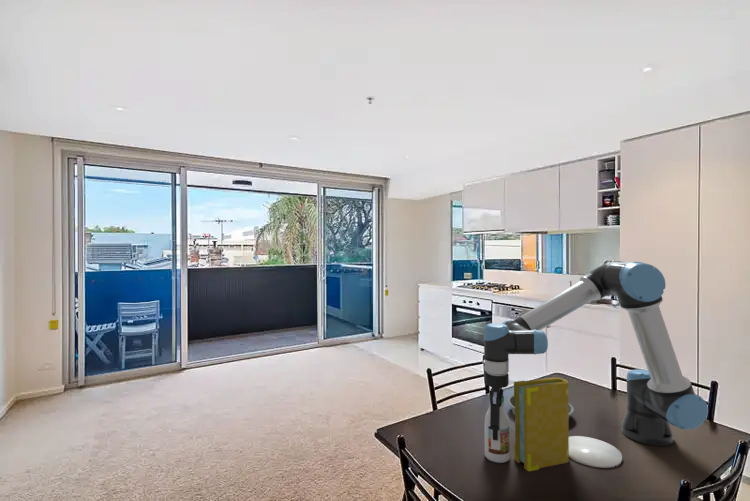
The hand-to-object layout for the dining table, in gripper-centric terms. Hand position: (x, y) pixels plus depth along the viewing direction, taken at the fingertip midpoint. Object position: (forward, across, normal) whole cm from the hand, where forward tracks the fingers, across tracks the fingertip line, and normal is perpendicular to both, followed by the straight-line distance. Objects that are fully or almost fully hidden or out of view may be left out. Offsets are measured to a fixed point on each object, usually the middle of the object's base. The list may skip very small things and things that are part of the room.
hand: (496, 442), depth 126 cm
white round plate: (+5, -14, +28) cm, 32 cm away
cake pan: (+5, -40, +13) cm, 42 cm away
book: (+5, -3, +14) cm, 15 cm away
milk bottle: (+5, 0, 0) cm, 5 cm away
